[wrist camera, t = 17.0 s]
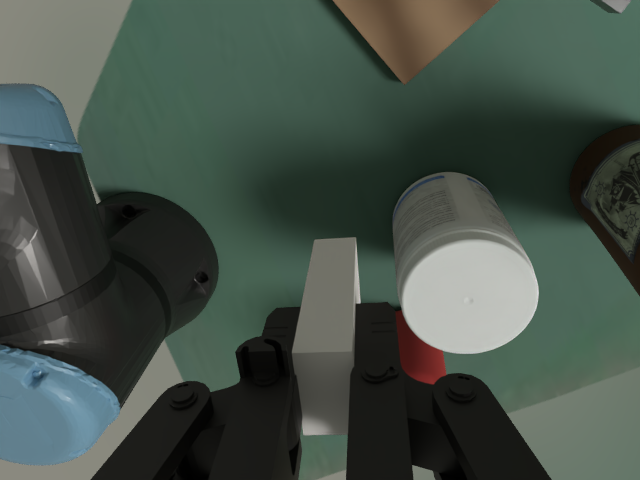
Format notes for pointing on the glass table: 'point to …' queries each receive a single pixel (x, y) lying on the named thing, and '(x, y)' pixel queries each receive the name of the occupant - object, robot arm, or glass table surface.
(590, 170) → the olive oil
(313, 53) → the glass table surface
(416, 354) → the beer can
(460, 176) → the supplement tub
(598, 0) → the disc with handle bar
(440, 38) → the square wooden board
